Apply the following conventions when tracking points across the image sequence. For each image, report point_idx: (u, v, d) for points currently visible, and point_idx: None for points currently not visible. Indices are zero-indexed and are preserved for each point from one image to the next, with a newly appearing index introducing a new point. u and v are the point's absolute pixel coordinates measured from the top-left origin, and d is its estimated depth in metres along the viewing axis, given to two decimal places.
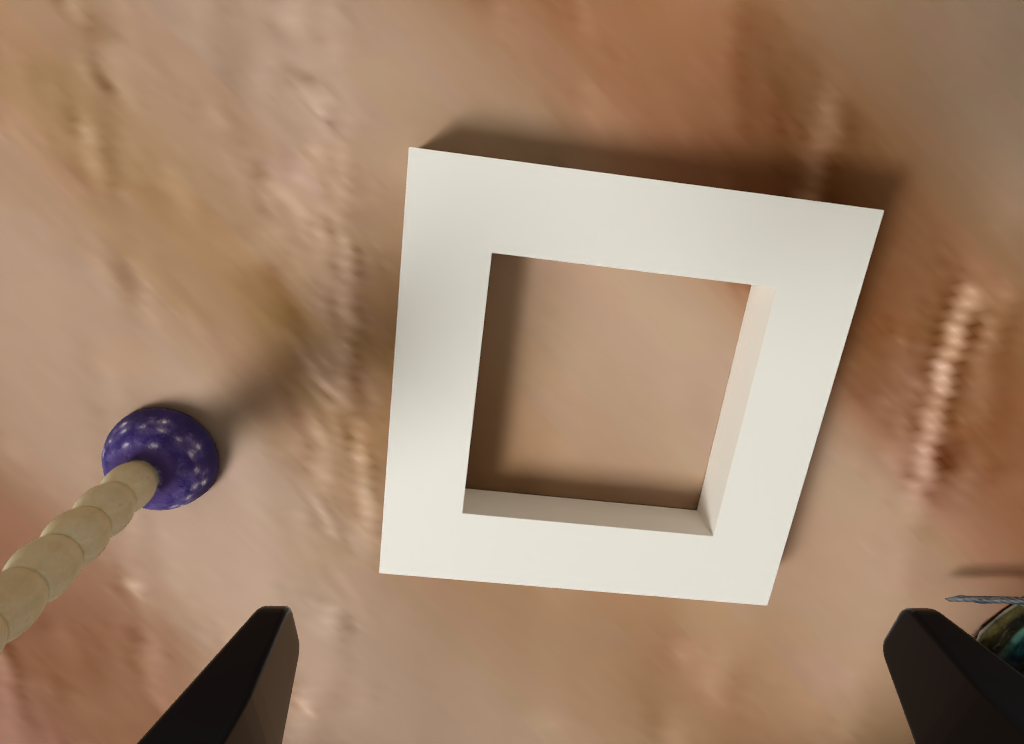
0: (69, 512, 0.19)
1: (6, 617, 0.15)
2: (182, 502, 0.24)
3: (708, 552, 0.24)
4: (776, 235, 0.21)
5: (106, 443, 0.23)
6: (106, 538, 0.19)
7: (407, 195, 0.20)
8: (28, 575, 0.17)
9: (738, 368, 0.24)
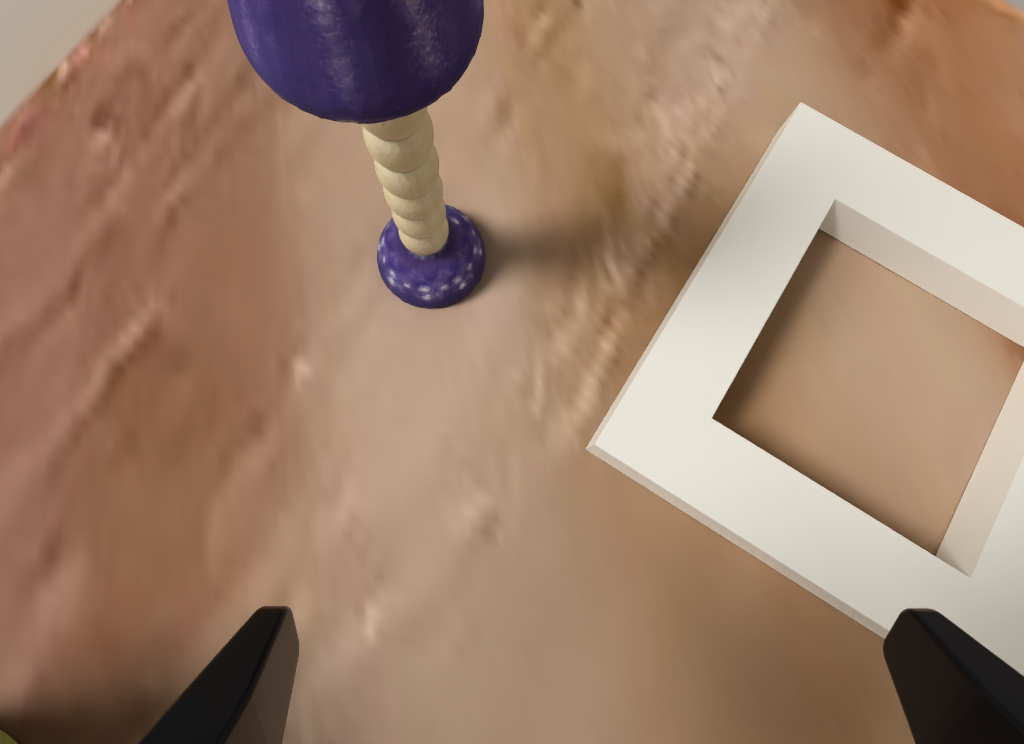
0: None
1: (423, 119, 0.15)
2: (434, 289, 0.23)
3: (960, 598, 0.20)
4: None
5: None
6: (437, 205, 0.19)
7: (785, 130, 0.24)
8: None
9: (1009, 419, 0.23)
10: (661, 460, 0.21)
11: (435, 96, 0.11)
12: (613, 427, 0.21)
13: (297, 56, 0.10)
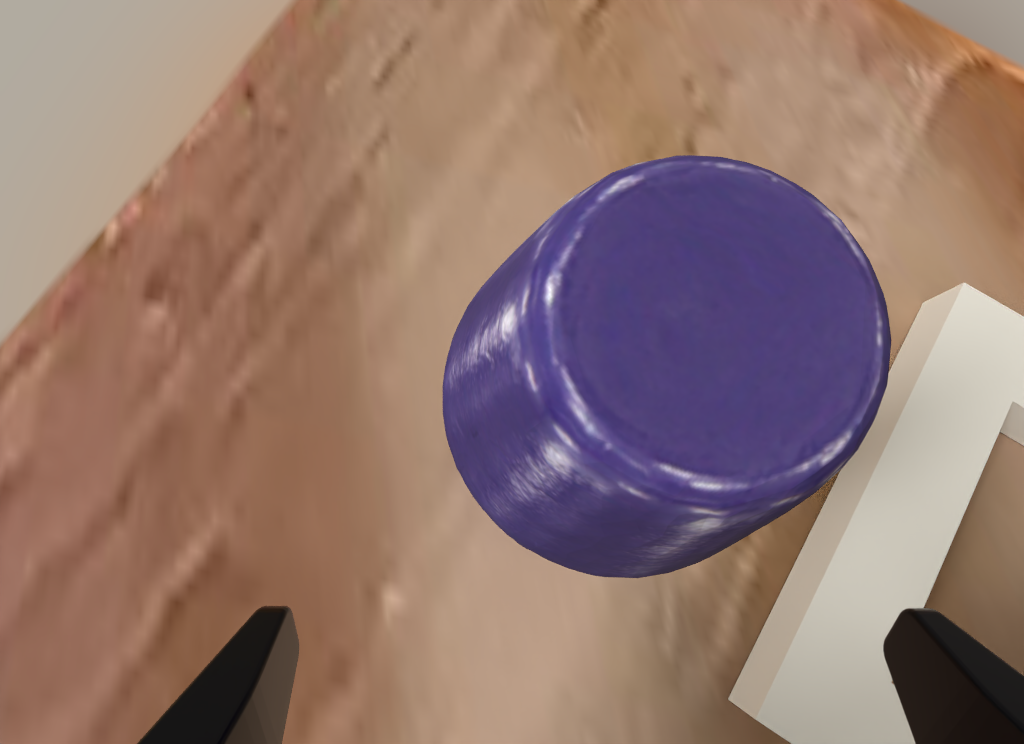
0: None
1: None
2: None
3: None
4: None
5: None
6: None
7: (949, 317, 0.21)
8: None
9: None
10: (835, 739, 0.17)
11: None
12: (776, 696, 0.18)
13: (582, 556, 0.07)
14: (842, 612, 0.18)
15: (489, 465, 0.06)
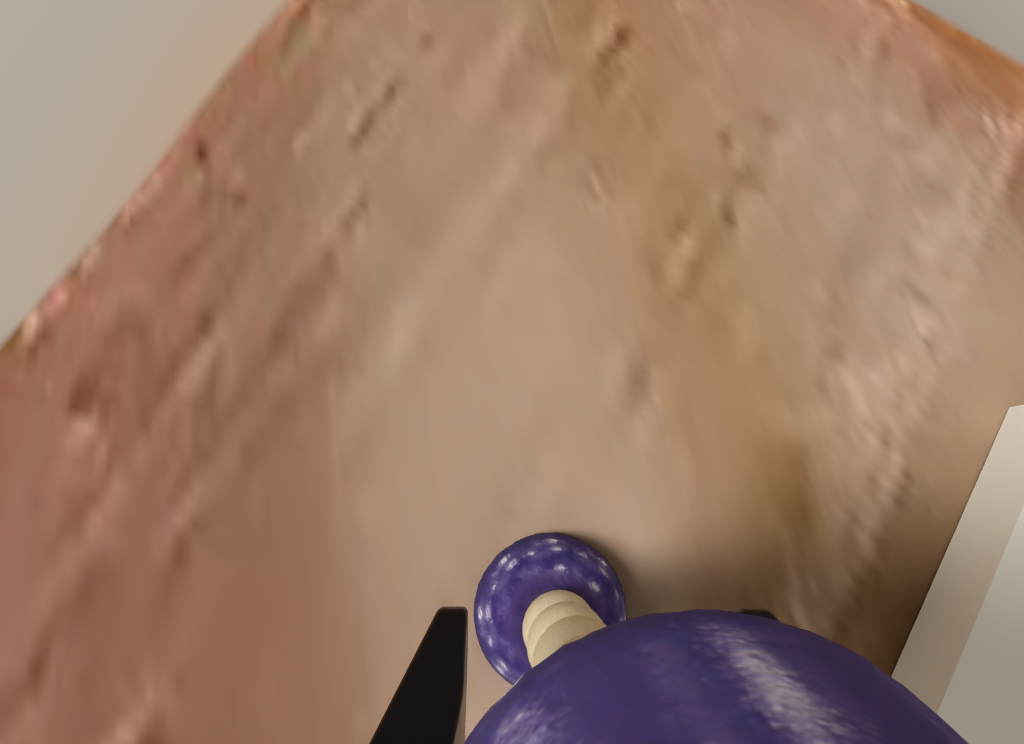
0: (596, 619, 0.12)
1: None
2: None
3: None
4: None
5: (520, 554, 0.16)
6: None
7: None
8: None
9: None
10: None
11: None
12: None
13: None
14: None
15: None
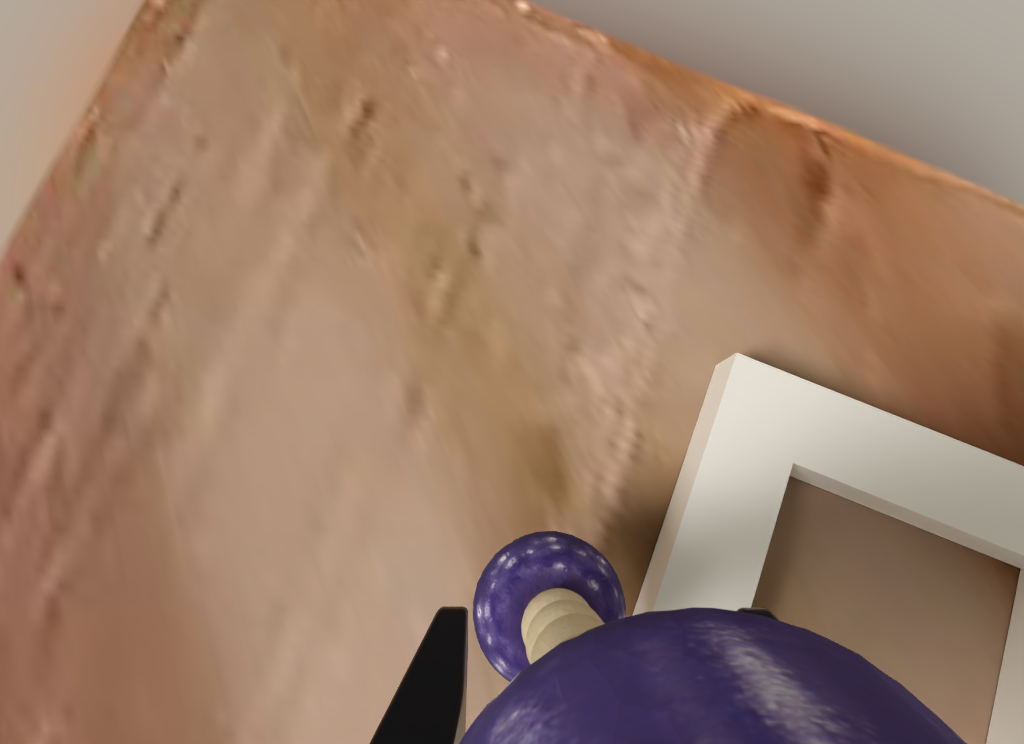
0: (594, 617, 0.12)
1: None
2: None
3: None
4: None
5: (519, 552, 0.16)
6: None
7: (726, 391, 0.21)
8: None
9: (1017, 665, 0.21)
10: None
11: None
12: None
13: None
14: None
15: None
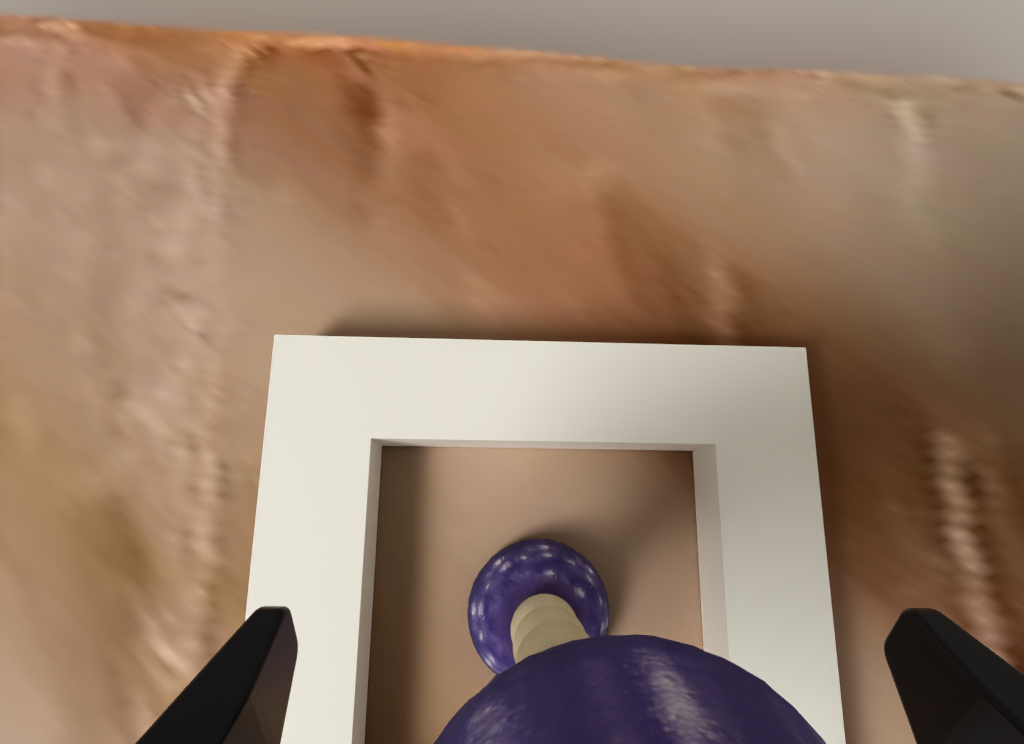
0: (575, 624, 0.13)
1: None
2: None
3: None
4: (696, 385, 0.18)
5: (513, 557, 0.18)
6: None
7: (271, 384, 0.18)
8: None
9: (705, 561, 0.18)
10: None
11: None
12: None
13: None
14: None
15: None
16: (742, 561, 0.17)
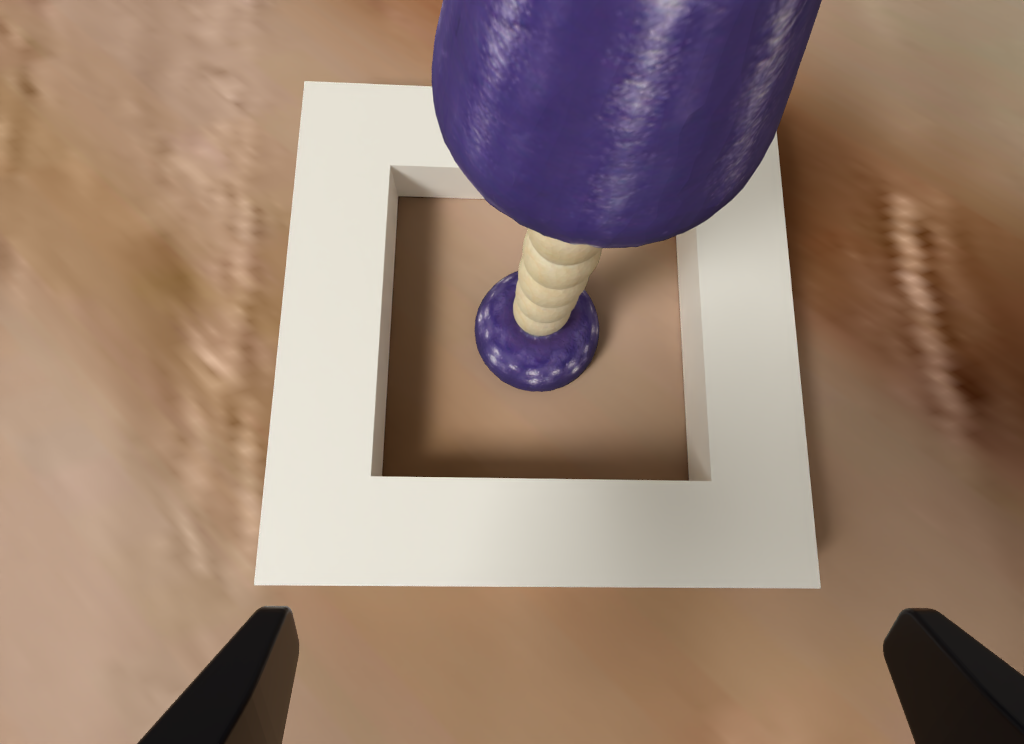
0: None
1: None
2: (544, 373, 0.19)
3: (712, 508, 0.18)
4: None
5: (515, 273, 0.20)
6: (580, 293, 0.15)
7: (302, 120, 0.20)
8: None
9: (684, 287, 0.21)
10: (337, 556, 0.17)
11: (710, 216, 0.08)
12: (266, 552, 0.17)
13: (556, 166, 0.07)
14: (301, 441, 0.18)
15: (470, 53, 0.06)
16: (715, 269, 0.20)
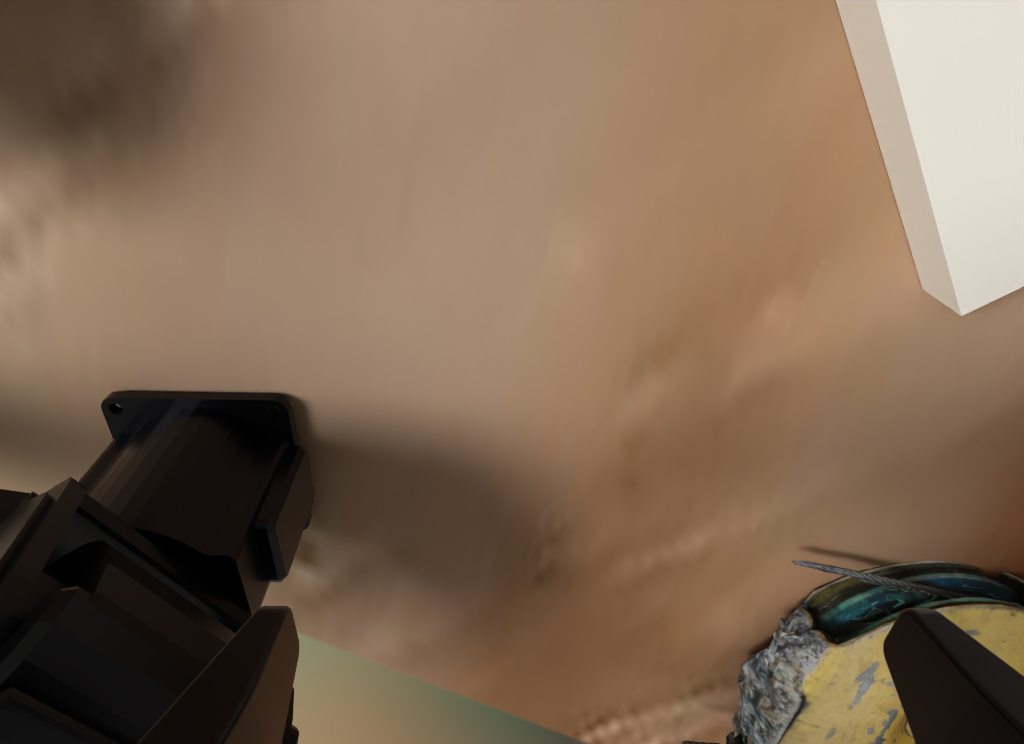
0: None
1: None
2: None
3: (1020, 196, 0.17)
4: None
5: None
6: None
7: None
8: None
9: None
10: None
11: None
12: None
13: None
14: None
15: None
16: None
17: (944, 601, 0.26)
